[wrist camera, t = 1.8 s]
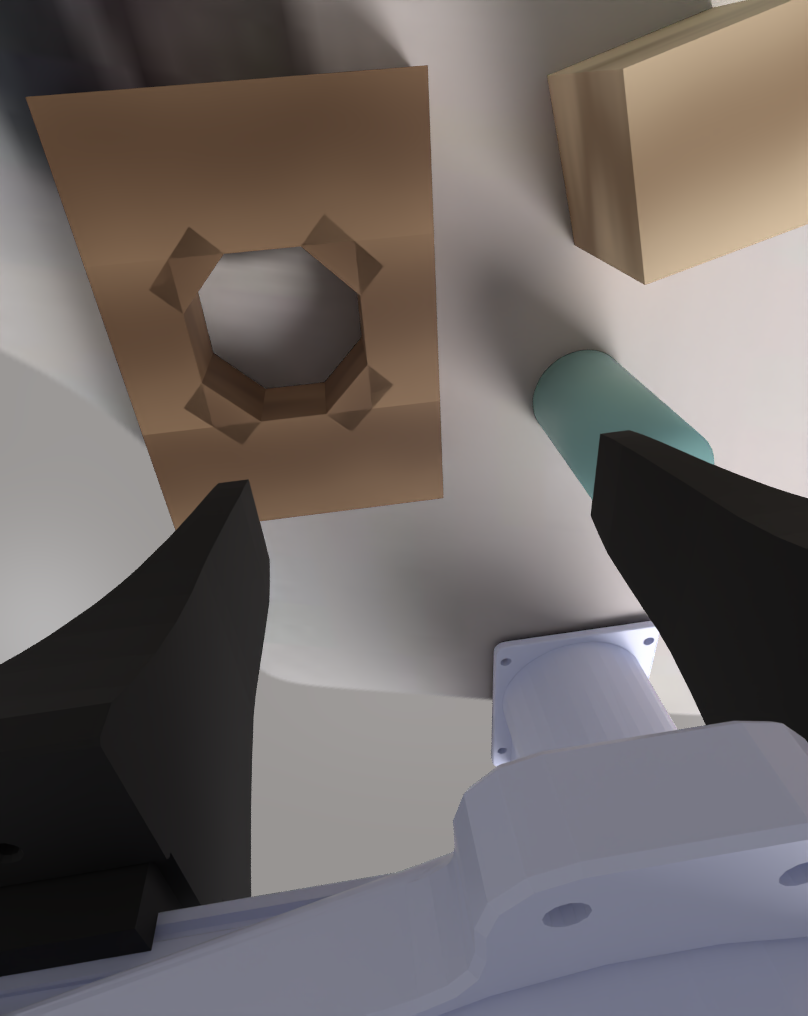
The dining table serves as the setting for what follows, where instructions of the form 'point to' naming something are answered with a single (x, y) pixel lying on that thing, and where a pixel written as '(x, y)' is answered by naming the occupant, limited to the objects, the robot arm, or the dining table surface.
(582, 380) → the teal dowel
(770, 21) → the wooden cube block
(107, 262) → the socket block
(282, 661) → the dining table surface
